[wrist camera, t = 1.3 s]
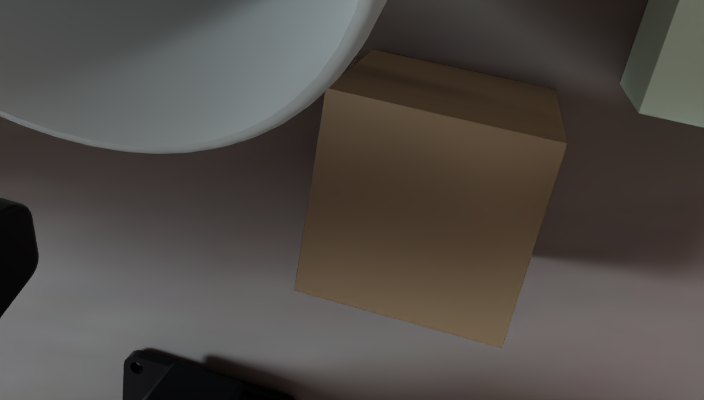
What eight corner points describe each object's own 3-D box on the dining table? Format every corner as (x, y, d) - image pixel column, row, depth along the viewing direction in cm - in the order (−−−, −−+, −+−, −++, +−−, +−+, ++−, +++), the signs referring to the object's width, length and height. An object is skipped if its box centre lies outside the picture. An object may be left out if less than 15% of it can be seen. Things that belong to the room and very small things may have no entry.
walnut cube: (505, 252, 20) (501, 348, 15) (343, 210, 20) (294, 290, 16) (555, 88, 18) (567, 143, 13) (373, 48, 18) (326, 88, 14)
